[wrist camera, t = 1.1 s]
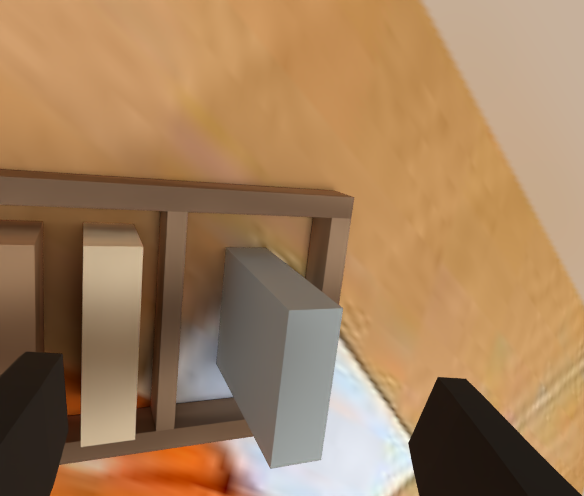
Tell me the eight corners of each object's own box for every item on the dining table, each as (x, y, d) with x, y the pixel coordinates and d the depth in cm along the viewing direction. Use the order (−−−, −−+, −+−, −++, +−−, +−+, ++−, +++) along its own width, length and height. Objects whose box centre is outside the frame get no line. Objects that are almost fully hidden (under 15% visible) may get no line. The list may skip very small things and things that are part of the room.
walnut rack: (305, 405, 27) (321, 426, 26) (-92, 455, 20) (-109, 489, 18) (334, 190, 25) (354, 197, 23) (-116, 161, 17) (-138, 168, 16)
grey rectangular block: (254, 360, 25) (321, 459, 18) (216, 363, 25) (270, 468, 17) (265, 247, 24) (343, 308, 17) (225, 247, 23) (288, 310, 16)
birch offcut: (127, 388, 23) (134, 439, 20) (81, 393, 22) (80, 447, 19) (133, 223, 21) (143, 246, 18) (83, 221, 21) (83, 245, 17)
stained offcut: (44, 396, 22) (36, 452, 18) (-8, 401, 21) (-27, 461, 18) (43, 220, 20) (34, 245, 16) (-14, 218, 19) (-37, 244, 16)
